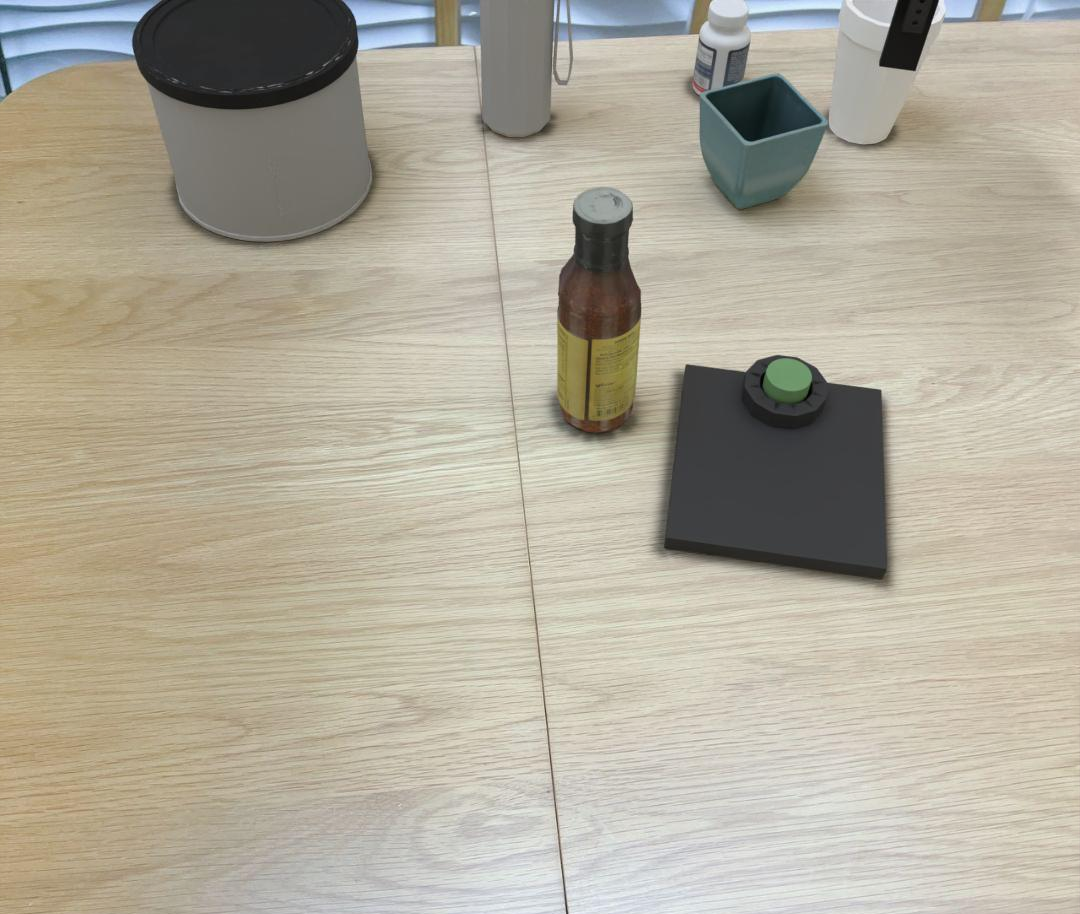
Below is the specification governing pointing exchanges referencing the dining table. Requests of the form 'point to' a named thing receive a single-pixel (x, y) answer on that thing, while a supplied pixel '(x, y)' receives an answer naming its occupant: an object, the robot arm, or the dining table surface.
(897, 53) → the robot arm
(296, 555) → the dining table surface
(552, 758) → the dining table surface
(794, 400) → the tare button
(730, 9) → the pill bottle
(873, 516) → the scale
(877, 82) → the foam cup
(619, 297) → the sauce bottle
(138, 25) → the container
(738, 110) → the flower pot
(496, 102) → the water bottle
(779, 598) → the dining table surface
